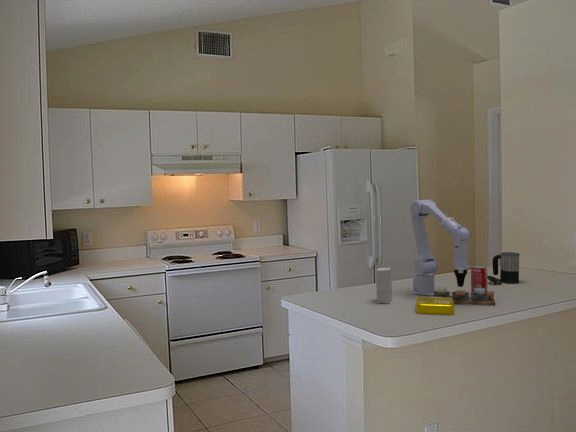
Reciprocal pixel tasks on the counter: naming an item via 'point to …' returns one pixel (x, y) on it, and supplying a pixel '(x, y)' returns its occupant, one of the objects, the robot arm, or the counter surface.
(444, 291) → the sage button
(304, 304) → the counter surface
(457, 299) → the panel
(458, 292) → the terracotta button
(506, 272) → the milk frother
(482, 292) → the slate button
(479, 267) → the soda can
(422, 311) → the element tile
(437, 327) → the counter surface
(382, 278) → the skincare box
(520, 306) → the counter surface
